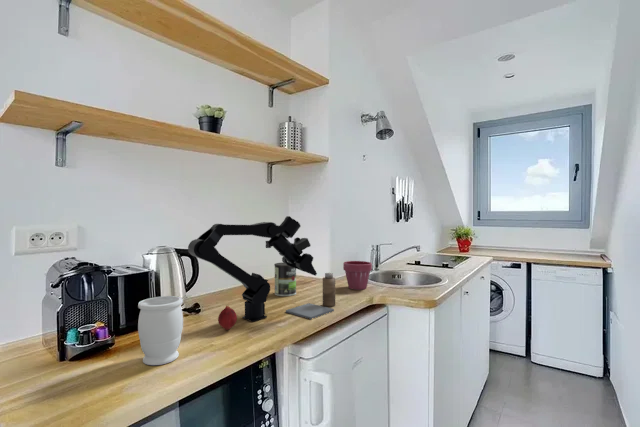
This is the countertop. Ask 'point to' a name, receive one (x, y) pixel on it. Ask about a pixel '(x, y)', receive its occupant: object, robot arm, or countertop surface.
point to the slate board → (309, 310)
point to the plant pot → (357, 274)
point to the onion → (227, 318)
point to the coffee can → (285, 280)
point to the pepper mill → (328, 290)
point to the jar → (160, 328)
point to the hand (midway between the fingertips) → (310, 272)
